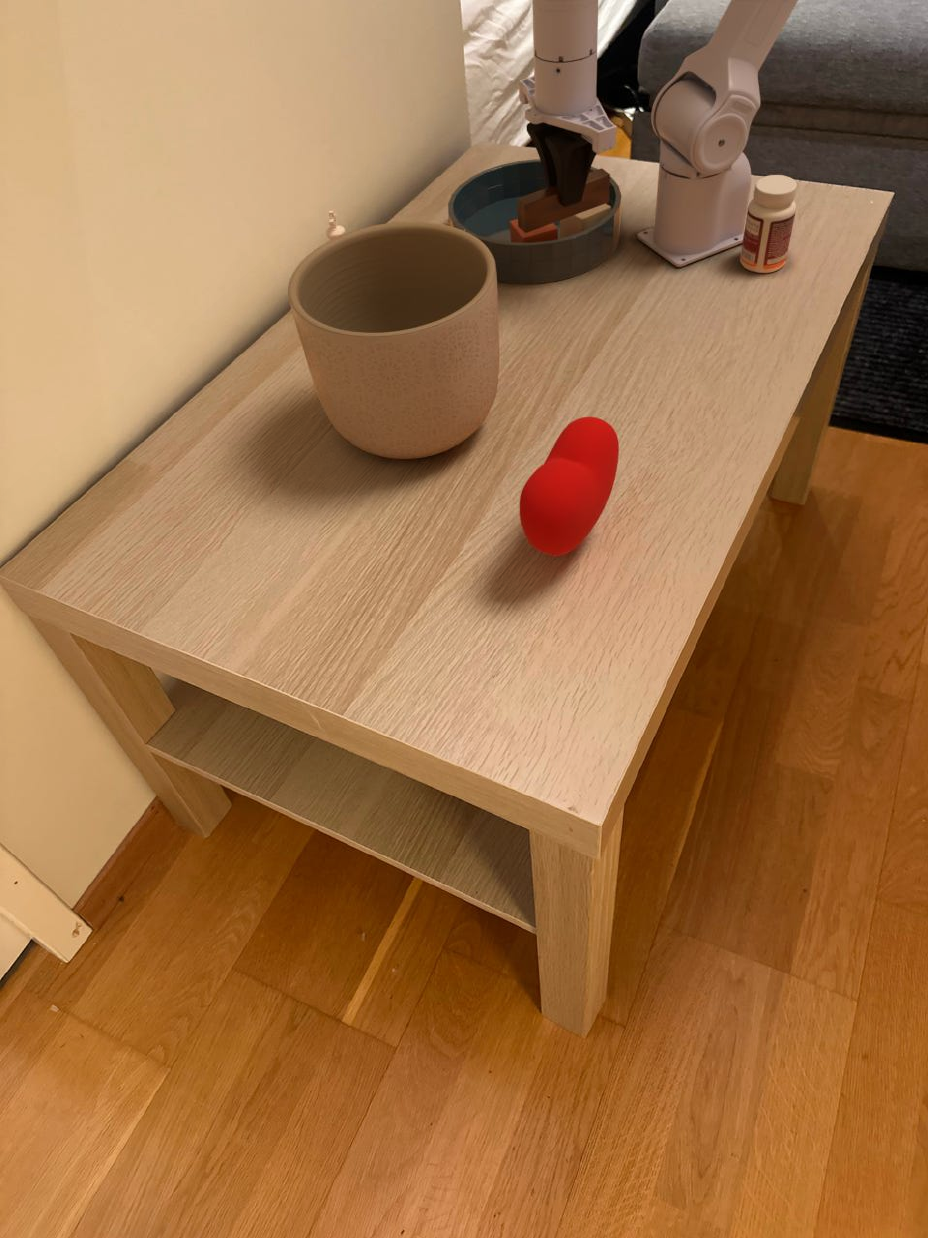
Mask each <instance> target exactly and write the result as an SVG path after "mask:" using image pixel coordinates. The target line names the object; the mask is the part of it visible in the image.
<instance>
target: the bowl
mask: <svg viewBox="0 0 928 1238" xmlns="http://www.w3.org/2000/svg"><path fill="white" fill-rule="evenodd" d="M595 170H598V168H596V167H594V166H592V165H591V168H590V171H589V173H590V172H593V171H595ZM546 188H548V187H547V183H546V179H545V175H544V171H543V167H542V163H541V160H540V158H539V159H538V158H537V159H526V160H518V161H512V162H509V163H504V164H499V165H497V166H494V167H490V168H487V169H485V170H482V171H480V172H479V173H476V174H475V175H473V176H471V177H468V178H467V179H466V180H465V181H463V182H462V183H461V184H459V186H457V188H456V189H455V190H454V191H453V192H452V194H451V195H450V198H449V201H448V203H447V214H448V215H447V216H448V223H449V225H448V226H451V227H454V228H457V229H460V230H463V231H465V232H467V233H469V234H471V235H473V236H475V237H476V238H478V239H479V240H480V241H482V242H483V243H484V244H485V245H486V246H487V247H488V249H489V250H490V252H491V253H492V255H493V257H494V260H495V265H496V274H497V282H498V283H499V282H500V283H505V284H512V285H513V284H515V285H539V284H548V283H554V282H560V281H564V280H568V279H571V278H574V277H576V276H580V275H582V274H584V273H587V272H588V271H591V270H593V269H594V268H597V267H598V266H599V265H601V264H602V263H604V262H605V261H606V260H607V259H608V258H609V257H611V255H613V253H614V251H616V248H617V246H618V244H619V240H620V233H621V217H622V198H623V197H622V193H621V188H620V185H619V184H618V183H617V182H616V181H615V179H614V178H613V177H612V176H610V188H609V202H608V203H606V204H607V205H609V206H611V212H610V213H609V214H608V215H607V216H606V217H605V218H604V219H603V220H602V221H600V222H599V223H598V224H596V225H594V226H592V227H591V228H589V229H587V230H585V231H583V232H580V233H577V234H575V235H572V236H569V237H565V238H560V221H557V222H555V223H553V224H554V225H555V226H556V227H557V228H558V239H556V240H551V241H542V242H532V243H520V242H511V235H510V221H512V220H516V219H518V208H517V199H518V198H521V197H523V196H526V195H529V194H532V193H534V192H537V191H540V190H543V189H546Z"/></svg>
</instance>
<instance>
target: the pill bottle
mask: <svg viewBox="0 0 928 1238" xmlns="http://www.w3.org/2000/svg"><path fill="white" fill-rule="evenodd" d="M797 188H798V183H797V181H796V180H795V179H794V178H792V177H790V176H787V175H783V174H770V175H765V176H763V177H760V178H759V179H758V180H756V182H755V185H754V190H753V199H751V200H750V201H749V203H748V208H747V214H746V220H745V226H744V232H743V233H744V236H743V243H741V249H740V250H741V251H740V257H739V262H740V264H741V266H742V267H743V268H745V270H748V271H750V272H754V273H759V274H768V273H773V272H777V271H779V270H780V269H781V268H783V267H784V265H785V264H786V261H787V256H788V253H789V247H790V242H791V237H792V231H793V226H794V222H795V217H796V212H797V204H796V201H795V198H796V195H797Z"/></svg>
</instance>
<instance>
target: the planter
mask: <svg viewBox="0 0 928 1238" xmlns="http://www.w3.org/2000/svg"><path fill="white" fill-rule="evenodd" d="M287 296H288V301H289V306H290V309H291V313H292V317H293V321H294V324H295V327H296V330H297V333H298V338H299V340H300V343H301V346H302V350H303V353H304V356H305V360H306V364H307V367H308V370H309V374H310V376H311V379H312V383H313V386H314V389H315V391H316V393H317V394H316V395H317V396H318V399H319V401H320V404H321V406H322V408H323V410H324V412H325V415H326V416H327V418H328V420H329V421H330V424H331V425H332V426H333V427H334V429H335V430H336V431H337V433H339V434H340V435H341V436H342V438H344V439H345V440H346V441H347V442H349V443H350V444H352V445H353V446H355V447H357V448H358V449H360V450H363V451H365V452H366V453H369V454H372V455H375V456H378V457H383V458H388V459H396V460H414V459H422V458H423V459H424V458H427V457H431V456H435V455H438V454H441V453H444V452H446V451H448V450H450V449H452V448H454V447H456V446H458V445H460V444H461V443H463V442H464V441H465V440H467V439H468V438H469V437H471V435H473V434H474V433H475V432H476V431H477V430H478V429H479V428H480V427H481V425H482V424H483V423H484V421H485V420H486V419H487V416H488V415H489V413H490V412H491V409H492V407H493V404H494V401H495V399H496V395H497V391H498V383H499V374H500V373H499V372H500V329H499V328H500V325H499V300H498V299H499V298H498V297H499V295H498V281H497V274H496V265H495V260H494V257H493V255H492V253H491V252H490V250H489V249H488V247H487V246H486V245H485V244H484V243H483V242H482V241H480V240H479V239H478V238H476V237H475V236H473V235H471V234H469V233H467V232H465V231H463V230H460V229H457V228H454V227H451V226H450V225H447V224H442V223H436V222H435V223H434V222H426V221H396V222H388V223H380V224H375V225H371V226H367V227H363V228H359V229H356V230H352V231H349V232H347V233H345V234H344V235H341V236H339V237H337V238H335V239H333V240H331V241H330V240H328V241H327V242H325V243H323V244H322V245H320V246H318V247H317V248H315V249H314V250H313V251H311V252H310V253H309V254H308V255H306V257H304V258H303V259H302V261H300V263H299V264H298V265H297V266H296V268H295V269H294V271H293V272H292V274H291V277H290V278H289V282H288V286H287Z"/></svg>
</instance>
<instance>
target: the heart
mask: <svg viewBox="0 0 928 1238" xmlns="http://www.w3.org/2000/svg"><path fill="white" fill-rule="evenodd" d="M619 454H620V443H619V437H618V434H617V432H616V430H615V428H614V427H613V426H612V424H610V423H609V422H607V421H606V420H604V419H603V418H599V417H597V416H582V417H579V418H576V419H575V420H573V421H571V422H570V423H569V424H567V425H566V426H565V427H564V429H563V430H562V431H561V433H560V434H559V436H558V437H557V438H556V440H555V442H554V444H553V446H552V447H551V449H550V452H549V453H548V455H547V456H546V459H545V460H544V462H543V464H541V465H540V466H539V467H537V469H536V470H534V471H533V473H531V475H530V476H529V477H528V479H527V480H526V481H525V483H524V485H523V486H522V489H521V491H520V497H519V519H520V524H521V528H522V531H523V534H524V536H525V538H526V540H527V541H528V542H529V544H530V545H531V546H532V547H533V548H534V549H535V550H537V551H539V552H541V554H542V553H543V554H545V555H549V556H555V557H556V556H557V557H559V556H563V555H566V554H569V553H570V552H572V551H573V550H575V549H576V548H577V547H578V546H579V545H580V544H582V542H583V541H584V540H585V539H586V537H587V536H588V535H589V534H590V532H591V531H592V530H593V528H594V527H595V526H596V524H597V522H598V521H599V519H600V518H601V515H602V514H603V512H604V511H605V508H606V507H607V503H608V501H609V499H610V497H611V494H612V490H613V488H614V484H615V480H616V475H617V470H618V464H619V456H620V455H619Z"/></svg>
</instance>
